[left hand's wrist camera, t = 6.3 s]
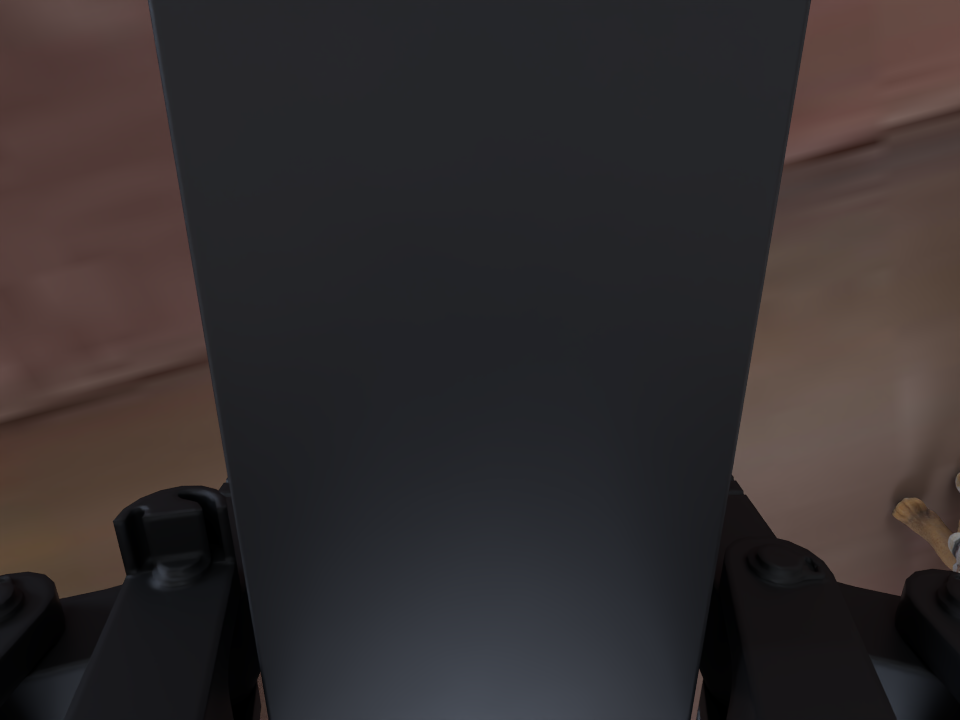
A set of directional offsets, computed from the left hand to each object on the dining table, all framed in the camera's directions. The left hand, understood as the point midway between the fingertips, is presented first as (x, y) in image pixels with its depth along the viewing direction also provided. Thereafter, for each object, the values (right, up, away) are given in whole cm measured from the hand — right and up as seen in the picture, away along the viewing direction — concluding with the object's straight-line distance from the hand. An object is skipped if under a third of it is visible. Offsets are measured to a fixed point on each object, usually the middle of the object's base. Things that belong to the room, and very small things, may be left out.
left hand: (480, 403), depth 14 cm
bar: (0, +7, -2) cm, 7 cm away
